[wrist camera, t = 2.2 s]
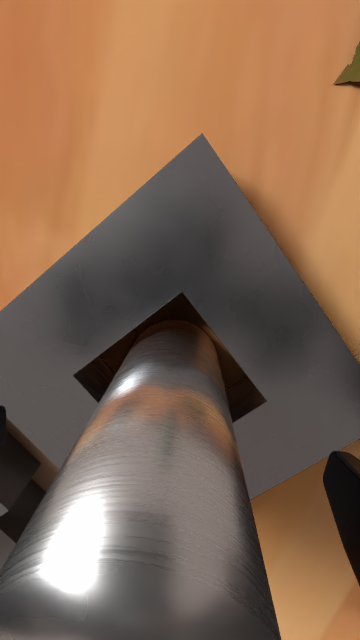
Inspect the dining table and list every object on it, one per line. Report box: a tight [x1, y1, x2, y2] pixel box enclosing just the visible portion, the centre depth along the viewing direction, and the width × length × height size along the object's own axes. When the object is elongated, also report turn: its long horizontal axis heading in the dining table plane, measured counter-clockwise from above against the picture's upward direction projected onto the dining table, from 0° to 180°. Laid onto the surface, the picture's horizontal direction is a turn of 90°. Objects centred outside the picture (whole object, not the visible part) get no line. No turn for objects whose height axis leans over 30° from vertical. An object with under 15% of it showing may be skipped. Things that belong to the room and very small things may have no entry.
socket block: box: [0, 134, 360, 500], centre depth 12 cm, size 12×12×2 cm
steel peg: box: [0, 320, 281, 640], centre depth 8 cm, size 4×4×10 cm
